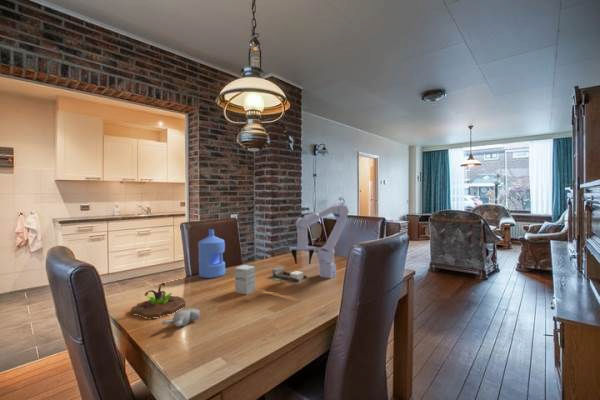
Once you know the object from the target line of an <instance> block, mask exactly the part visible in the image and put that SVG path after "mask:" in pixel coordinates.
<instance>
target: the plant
mask: <svg viewBox="0 0 600 400" xmlns="http://www.w3.org/2000/svg"><path fill="white" fill-rule="evenodd" d="M162 286H163V287H166V286H167V282H162V283H160V285H159V286H158V288H157V289H158V291H156V290H153V289H150V290H148V291H146V292H145V293H144V296H145V297H146V298H147V300H144V301H142V302H139V303H136V305H134V306H132V307H131V309H130V310H131V311H130V313H133V314H138V315H141V316H143V317H147V318H153V317H160V316H163V315H167V314H171V315H173V314H175V313H174V312H176V311H177V310H179V309H181V308H183V307H184V308H186V307H185V306H186V301H185V299H184V298H183V297H180V296H174V295H173V294H172V292H170V293H168V294H167V292H166V291H164V290H162V291H161V288H162ZM150 292H151V293H153V294H152V296H151V295H149V293H150ZM148 295H149V296H148ZM172 295H173V296H172ZM184 308H183V309H184ZM181 310H182V309H181ZM172 313H173V314H172ZM167 316H168V315H167ZM163 317H164V316H163Z"/></svg>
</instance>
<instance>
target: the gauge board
mask: <svg viewBox="0 0 600 400" xmlns="http://www.w3.org/2000/svg"><path fill="white" fill-rule="evenodd" d="M271 271H272V273H271V274H272V275H270V276H268V277H266V279H267V280H272V281H277V282H281V283H287V284H291V285H296V286H298V285H300V284H302V283H304V282H307V281H309V280H311V278H309V277H308V275H305V274H303V276H304V278H303V279H301V280H299V279H295V278H291V277H290V276H289V277H286V276H288V275H290V273H291V272H290V271H289V272H288V271H285V268H284V267H283V266H278V267H274V268H273V269H272V270H271ZM285 277H286V278H285Z"/></svg>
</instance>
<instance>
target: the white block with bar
mask: <svg viewBox="0 0 600 400" xmlns="http://www.w3.org/2000/svg"><path fill="white" fill-rule="evenodd" d="M303 275H304V271H300V270H299V271H298V270H295V271H293V272H290V275H288V276H286V277H289V276H290V277H291V278H295V279H299V280H301V279H303V278H304V276H303ZM286 277H285V278H286Z"/></svg>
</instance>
